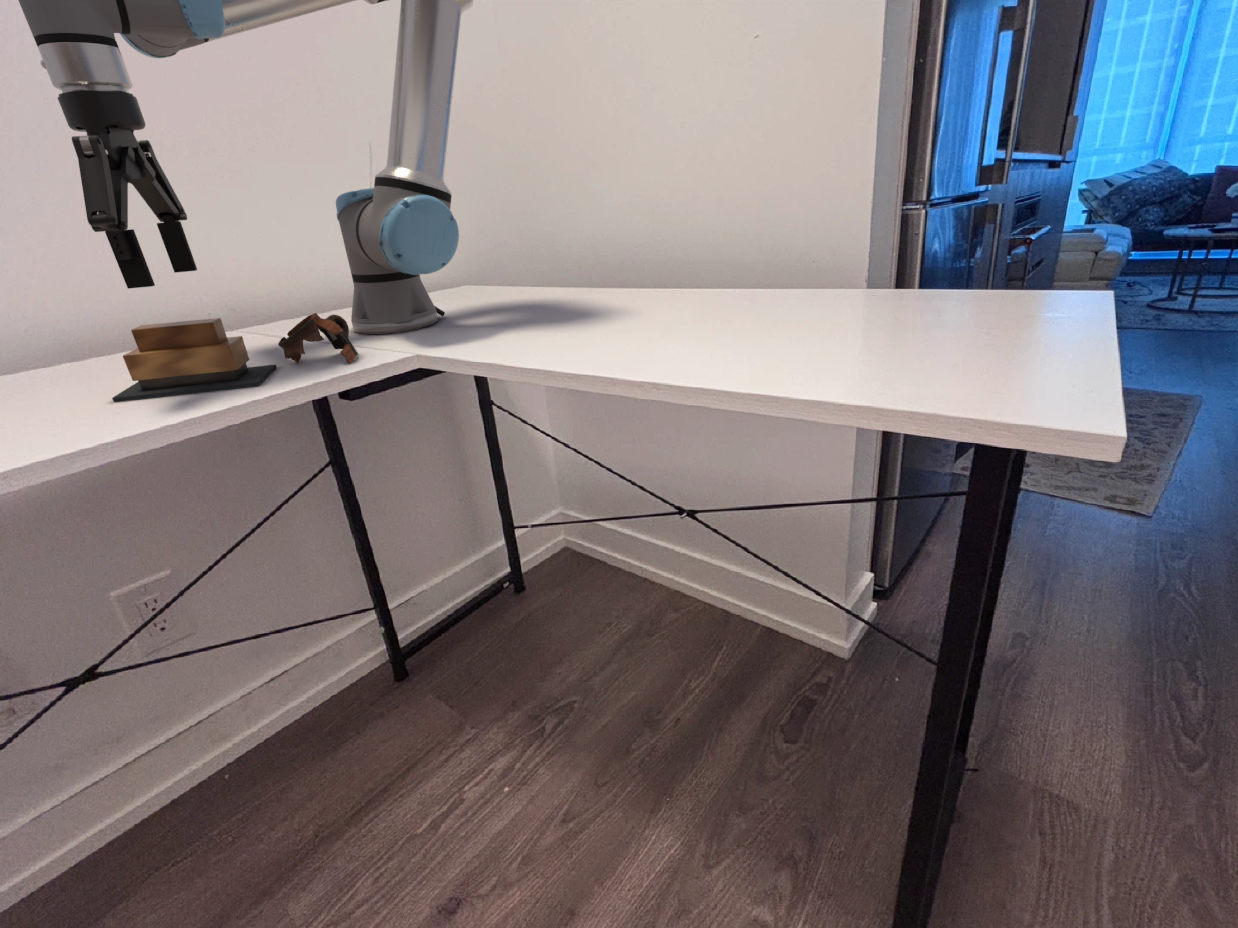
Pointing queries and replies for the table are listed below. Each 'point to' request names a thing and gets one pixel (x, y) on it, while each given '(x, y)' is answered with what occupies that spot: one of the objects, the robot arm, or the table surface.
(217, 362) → the brush
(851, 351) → the table surface
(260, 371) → the mat
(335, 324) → the brown black curved piece
